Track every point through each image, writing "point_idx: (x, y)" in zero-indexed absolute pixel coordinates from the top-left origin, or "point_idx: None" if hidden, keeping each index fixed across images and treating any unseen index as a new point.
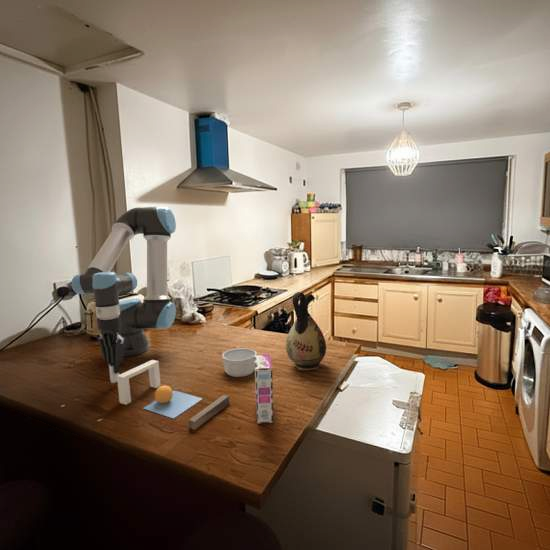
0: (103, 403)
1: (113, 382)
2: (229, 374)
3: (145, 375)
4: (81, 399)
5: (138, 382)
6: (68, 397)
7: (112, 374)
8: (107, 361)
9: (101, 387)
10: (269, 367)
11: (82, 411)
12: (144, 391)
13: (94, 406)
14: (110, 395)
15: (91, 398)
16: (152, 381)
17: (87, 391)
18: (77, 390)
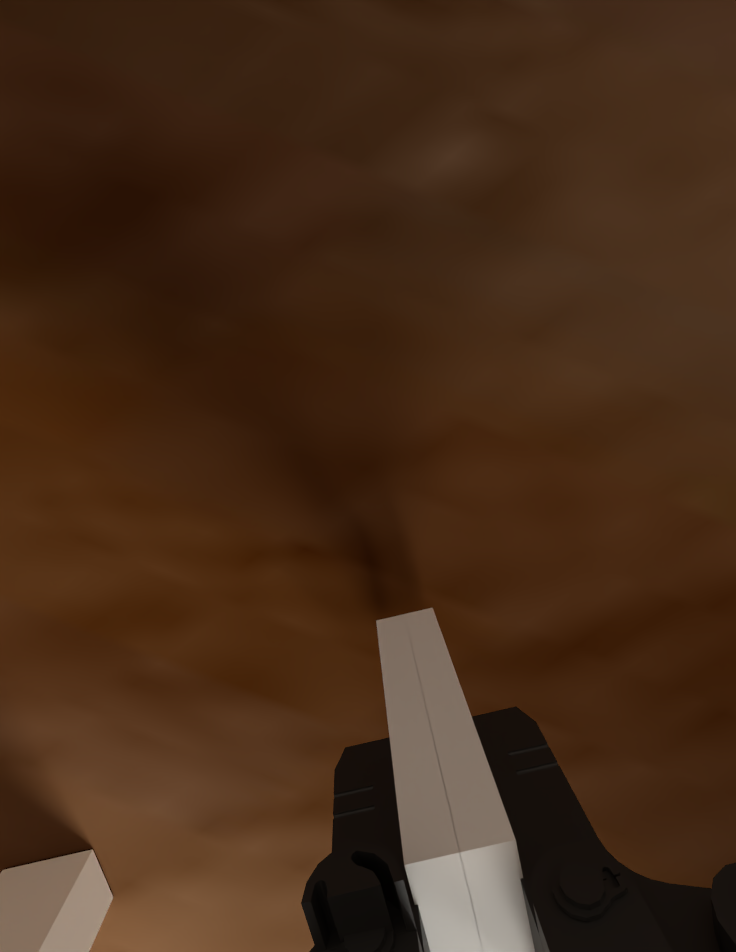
0: (62, 344)
1: (378, 627)
2: None
3: None
4: (393, 197)
5: (293, 813)
6: (598, 97)
7: (387, 701)
8: (616, 923)
9: (518, 502)
10: None
11: (33, 64)
12: (20, 766)
13: (62, 234)
14: (214, 487)
15: (317, 298)
16: (6, 932)
17: (557, 343)
18: (698, 266)
